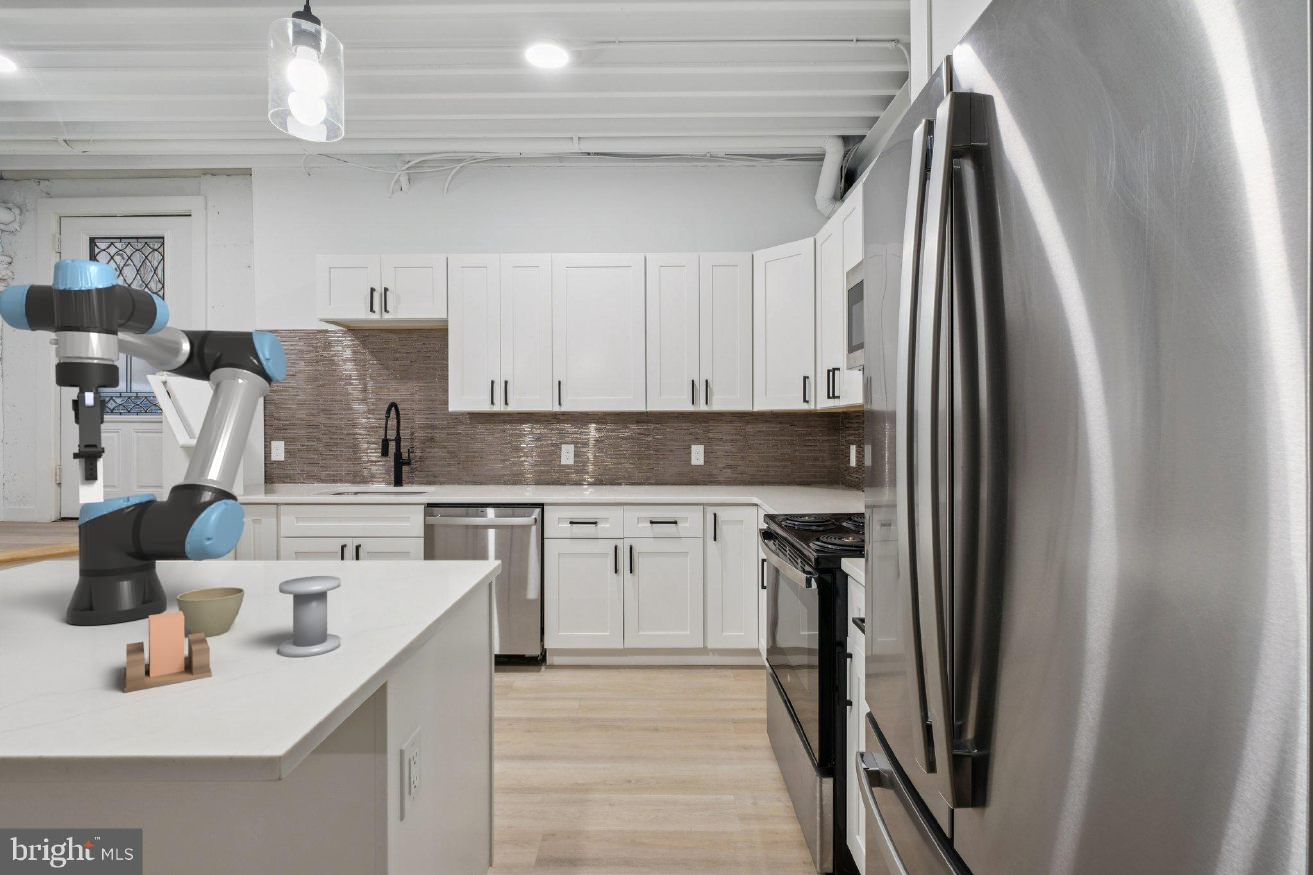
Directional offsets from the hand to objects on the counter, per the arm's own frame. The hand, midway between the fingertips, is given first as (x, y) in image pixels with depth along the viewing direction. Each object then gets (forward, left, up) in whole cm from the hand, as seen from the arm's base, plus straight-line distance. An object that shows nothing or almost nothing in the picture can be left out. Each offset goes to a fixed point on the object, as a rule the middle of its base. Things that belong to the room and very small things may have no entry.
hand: (90, 498), depth 103 cm
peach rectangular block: (+15, +9, -25) cm, 30 cm away
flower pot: (-5, +16, -26) cm, 31 cm away
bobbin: (+15, +28, -25) cm, 41 cm away
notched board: (+15, +9, -25) cm, 31 cm away
